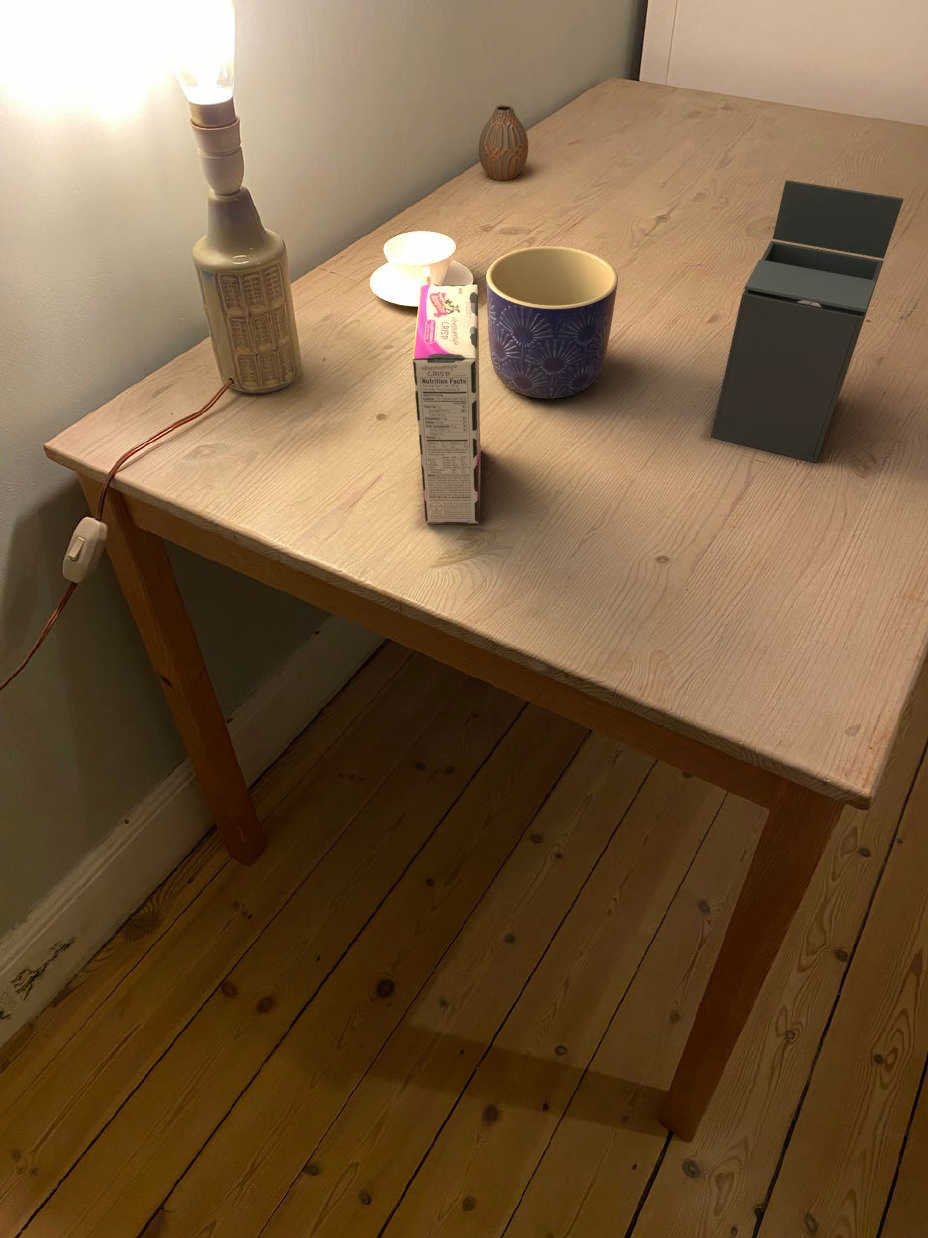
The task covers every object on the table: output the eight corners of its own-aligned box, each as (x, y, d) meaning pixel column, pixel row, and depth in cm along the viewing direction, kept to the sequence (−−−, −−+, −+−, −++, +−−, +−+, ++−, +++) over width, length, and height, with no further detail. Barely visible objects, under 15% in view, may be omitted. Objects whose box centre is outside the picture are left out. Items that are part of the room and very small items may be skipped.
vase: (491, 162, 133) (492, 95, 126) (535, 169, 130) (537, 102, 124) (470, 179, 129) (469, 111, 122) (515, 187, 126) (516, 119, 120)
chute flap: (865, 312, 73) (866, 309, 72) (743, 288, 75) (744, 285, 75) (875, 284, 76) (876, 280, 76) (758, 262, 79) (759, 259, 78)
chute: (816, 463, 83) (885, 253, 69) (710, 437, 86) (755, 231, 72) (838, 398, 90) (905, 196, 76) (739, 376, 93) (786, 177, 79)
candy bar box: (427, 448, 86) (418, 282, 74) (481, 448, 86) (480, 281, 74) (421, 526, 78) (410, 355, 66) (479, 526, 78) (479, 355, 66)
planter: (523, 424, 88) (527, 320, 80) (465, 363, 96) (463, 262, 88) (630, 390, 92) (644, 287, 84) (566, 334, 99) (573, 234, 91)
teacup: (390, 325, 101) (386, 279, 97) (357, 278, 109) (353, 234, 105) (489, 304, 104) (489, 259, 100) (451, 259, 112) (450, 216, 108)
